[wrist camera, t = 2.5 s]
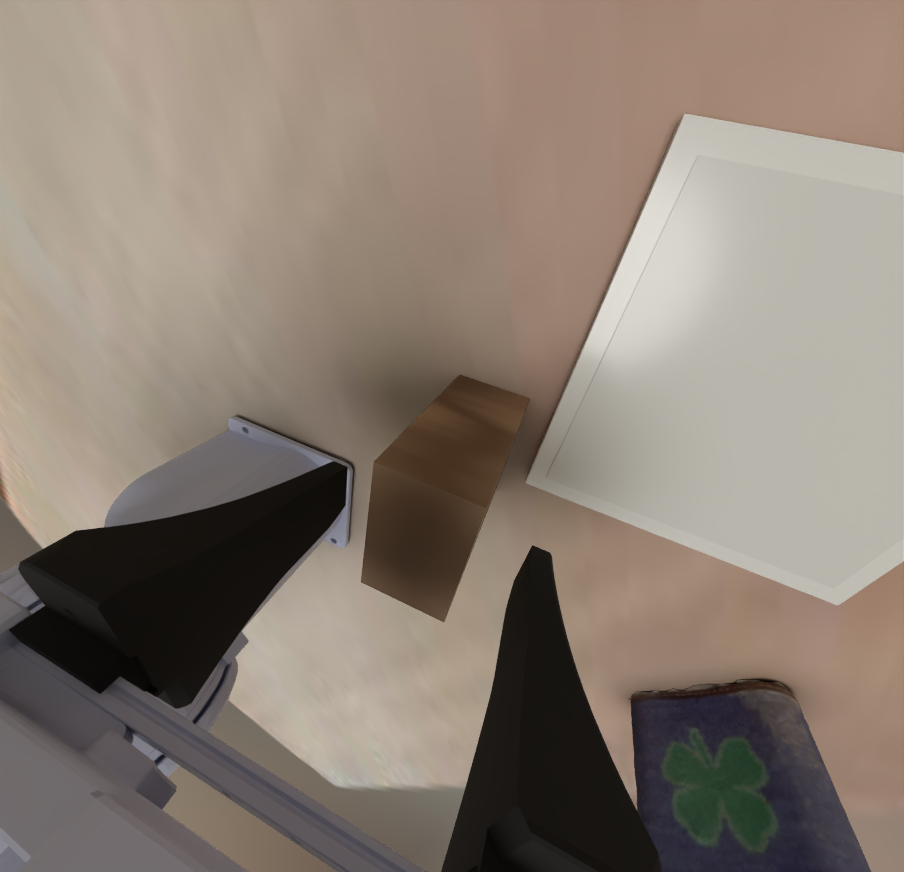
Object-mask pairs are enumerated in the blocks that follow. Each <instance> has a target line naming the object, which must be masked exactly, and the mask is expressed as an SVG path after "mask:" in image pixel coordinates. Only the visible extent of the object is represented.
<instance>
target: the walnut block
mask: <svg viewBox="0 0 904 872" xmlns="http://www.w3.org/2000/svg"><path fill="white" fill-rule="evenodd" d="M529 400H530V399H529V398H526V397H523V396H520V395H518V394H515V393H512V392H509V391H506V390H503V389H500V388H497V387H494V386H491V385H489V384H486V383H483V382H480V381H477V380H474V379H471V378H468V377H465V376H463V375H459V376H458V377H457V378H456V379H455V380H454V381H453V382H452V383H451V384H450V385H449V386H448V387H447V388H446V389H445V390H444V391H443V392H442V393H441V394H440V395H439V396H438V397H437V398H436V399H435V400H434V401H433V402H432V404H431V405H430V406H429V407H428V408H427V409H426V410H425V411H424V412H423V413H422V414H421V415H420V416H419V417H418V418H417V419H416V420H415V421H414V422H413V423H412V424H411V425H410V426H409V427H408V428H407V429H406V430H405V431H404V432H403V433H402V434H401V435H400V436H399V437H398V438H397V439H396V440H395V441H394V442H393V443H392V444H391V445H390V446H389V447H388V448H387V449H386V450H385V451H384V452H383V453H382V454H381V455H380V456H379V457H378V458H377V459H376V460H375V461H374V466H373V475H372V484H371V493H370V503H369V512H368V521H367V531H366V540H365V549H364V558H363V568H362V577H361V582H362V583H364V584H366V585H368V586H370V587H372V588H374V589H376V590H378V591H380V592H382V593H385V594H387V595H389V596H391V597H393V598H395V599H397V600H399V601H401V602H403V603H405V604H407V605H409V606H411V607H413V608H415V609H417V610H420V611H422V612H424V613H426V614H428V615H430V616H432V617H434V618H436V619H438V620H440V621H442V622H444V621H445V619H446V616H447V613H448V611H449V608H450V606H451V603H452V601H453V598H454V596H455V593H456V591H457V588H458V585H459V583H460V580H461V577H462V575H463V572H464V570H465V567H466V565H467V562H468V560H469V557H470V554H471V552H472V549H473V547H474V544H475V542H476V539H477V536H478V534H479V531H480V529H481V526H482V524H483V521H484V518H485V516H486V513H487V511H488V508H489V506H490V503H491V500H492V498H493V495H494V493H495V490H496V487H497V485H498V482H499V479H500V477H501V474H502V471H503V469H504V466H505V463H506V461H507V458H508V455H509V453H510V450H511V447H512V445H513V442H514V439H515V437H516V434H517V431H518V429H519V426H520V423H521V421H522V418H523V416H524V413H525V410H526V408H527V405H528V402H529Z"/></svg>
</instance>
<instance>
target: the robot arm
mask: <svg viewBox="0 0 904 872" xmlns="http://www.w3.org/2000/svg"><path fill="white" fill-rule="evenodd" d="M228 426H229V430H228V431H226V432H224V433H222V434H220V435H219V436H217V437H215V438H213V439H211V440H209V441H207V442H205V443H203V444H201V445H199V446H198V447H196V448H194V449H192V450H190V451H188V452H186V453H184V454H182V455H180V456H178V457H176V458H175V459H173V460H171V461H169V462H167V463H165V464H163V465H161V466H159V467H157V468H155V469H153V470H152V471H150V472H148V473H146V474H144V475H143V476H141V477H140V478H138V479H137V480H136V481H134V482H133V483H132V484H130V485H129V486H128V487H127V488H126V489H125V490H124V491H123V492H122V493H121V494H120V495H119V497H118V498H117V499H116V500H115V502H114V503H113V504H112V506H111V508H110V509H109V511H108V514H107V516H106V520H105V526H104V528H96V529H87V530H79V531H75V532H73V533H71V534H69V535H67V536H66V537H64V538H62V539H60V540H59V541H57V542H55V543H53V544H51V545H50V546H48V547H46V548H44V549H43V550H41V551H39V552H37V553H35V554H34V555H32V556H30V557H29V558H27V559H25V560H23V561H21V562H20V563H19V564H17V565H16V566H14V567H12V568H10V569H8V570H7V571H5V572H3V573H1V574H0V872H249V871H248V870H246V869H245V868H243V867H242V866H241V865H239V864H238V863H237V862H235V861H234V860H232V859H231V858H230V857H228V856H227V855H225V854H224V853H223V852H221V851H220V850H218V849H217V848H216V847H214V846H213V845H211V844H210V843H209V842H207V841H206V840H204V839H203V838H202V837H200V836H199V835H197V834H196V833H194V832H193V831H192V830H190V829H189V828H187V827H186V826H185V825H183V824H182V823H180V822H179V821H178V820H176V819H175V818H173V817H172V816H170V815H169V814H168V813H166V812H165V811H163V810H162V809H163V808H164V806H165V805H166V804H167V802H168V801H169V800H170V798H171V797H172V796H173V795H174V793H175V792H176V787H177V786H176V785H175V784H174V783H173V782H172V781H170V780H169V779H168V778H167V777H168V776H169V775H170V774H171V773H173V772H174V771H175V770H176V769H177V768H178V767H179V766H181V767H183V768H184V769H186V770H187V771H189V772H190V773H192V774H193V775H195V776H196V777H198V778H199V779H201V780H202V781H204V782H205V783H207V784H208V785H210V786H211V787H213V788H214V789H215V790H217V791H218V792H220V793H221V794H223V795H225V796H226V797H227V798H229V799H230V800H232V801H233V802H235V803H237V804H238V805H239V806H241V807H242V808H244V809H245V810H247V811H248V812H250V813H251V814H253V815H254V816H256V817H257V818H259V819H260V820H262V821H263V822H265V823H266V824H268V825H269V826H271V827H272V828H274V829H275V830H277V831H278V832H280V833H281V834H283V835H284V836H286V837H287V838H289V839H290V840H291V841H293V842H294V843H296V844H298V845H299V846H301V847H302V848H303V849H305V850H306V851H308V852H309V853H311V854H312V855H314V856H315V857H317V858H318V859H320V860H321V861H323V862H324V863H326V864H327V865H329V866H330V867H332V868H333V869H335V870H336V871H338V872H427V871H425V870H423V869H422V868H420V867H419V866H417V865H416V864H414V863H413V862H411V861H409V860H408V859H406V858H405V857H403V856H402V855H400V854H398V853H397V852H395V851H394V850H392V849H391V848H389V847H387V846H386V845H384V844H383V843H381V842H379V841H378V840H376V839H375V838H373V837H372V836H370V835H368V834H367V833H365V832H364V831H362V830H361V829H359V828H358V827H356V826H354V825H353V824H351V823H350V822H348V821H347V820H345V819H343V818H342V817H340V816H339V815H337V814H336V813H334V812H332V811H331V810H329V809H328V808H326V807H325V806H323V805H321V804H320V803H318V802H317V801H315V800H314V799H312V798H310V797H309V796H307V795H306V794H304V793H303V792H301V791H299V790H298V789H296V788H295V787H293V786H291V785H290V784H288V783H287V782H285V781H284V780H282V779H281V778H279V777H277V776H276V775H274V774H273V773H271V772H270V771H268V770H267V769H265V768H263V767H261V766H260V765H259V764H257V763H256V762H254V761H252V760H251V759H249V758H248V757H246V756H245V755H242V754H241V753H240V752H238V751H237V750H235V749H234V748H232V747H230V746H229V745H227V744H226V743H224V742H223V741H221V740H219V739H218V738H216V737H215V736H213V735H212V734H210V733H209V731H210V730H211V728H212V727H213V726H214V724H215V723H216V721H217V719H218V718H219V716H220V715H221V713H222V711H223V709H224V707H225V705H226V703H227V701H228V699H229V696H230V694H231V691H232V688H233V686H234V683H235V680H236V676H237V672H238V663H237V660H236V658H235V657H236V656H237V655H238V653H239V652H240V651H241V650H242V649H243V648H244V646H245V645H246V644H247V643H248V639H247V638H246V637H245V635H244V634H243V633H242V630H243V629H244V628H245V626H246V625H247V624H248V623H249V622H250V621H251V620H252V619H253V617H254V616H255V615H256V614H257V613H258V612H259V611H260V610H261V609H262V607H263V606H264V605H265V604H266V603H267V602H268V601H269V600H270V599H271V597H272V596H273V595H274V594H275V593H276V592H277V591H278V590H279V589H280V587H281V586H282V585H283V584H284V583H285V582H286V581H287V580H288V579H289V577H290V576H291V575H292V574H293V573H294V572H295V571H296V570H297V569H298V567H299V566H300V565H301V564H302V563H303V562H304V561H305V560H306V559H307V557H308V556H309V555H310V554H311V553H312V552H313V551H314V550H315V549H316V547H317V546H318V545H319V544H320V543H321V542H322V541H323V540H324V541H326V542H328V543H331V544H333V545H335V546H337V547H339V548H345V547H346V546H347V545H348V537H349V522H350V507H351V492H352V476H353V470H352V467H351V466H350V465H349V464H348V463H346V462H343V461H341V460H338V459H336V458H334V457H331V456H329V455H327V454H324V453H322V452H319V451H317V450H315V449H312V448H310V447H307V446H305V445H303V444H300V443H298V442H296V441H293V440H291V439H288V438H286V437H284V436H281V435H279V434H277V433H274V432H272V431H269V430H267V429H265V428H262V427H260V426H257V425H255V424H253V423H250V422H248V421H246V420H243V419H241V418H238V417H235V416H234V417H231V418H229V419H228ZM441 872H662V869H661V864H660V859H659V854H658V851H657V849H656V847H655V845H654V843H653V841H652V839H651V837H650V836H649V834H648V832H647V830H646V828H645V826H644V824H643V822H642V820H641V818H640V816H639V814H638V812H637V810H636V808H635V806H634V804H633V802H632V800H631V798H630V796H629V794H628V792H627V790H626V788H625V786H624V784H623V781H622V779H621V777H620V775H619V773H618V771H617V769H616V767H615V764H614V762H613V760H612V758H611V756H610V753H609V751H608V749H607V746H606V744H605V741H604V739H603V737H602V734H601V732H600V730H599V727H598V725H597V723H596V720H595V718H594V716H593V713H592V711H591V708H590V705H589V703H588V700H587V697H586V695H585V692H584V689H583V686H582V683H581V681H580V678H579V675H578V672H577V669H576V666H575V663H574V659H573V656H572V653H571V649H570V646H569V642H568V639H567V635H566V631H565V627H564V623H563V619H562V614H561V610H560V605H559V601H558V596H557V590H556V585H555V579H554V572H553V563H552V556H551V554H550V553H549V552H547V551H545V550H542V549H540V548H538V547H535V546H533V545H532V547H531V549H530V551H529V553H528V555H527V557H526V559H525V561H524V563H523V565H522V567H521V568H520V570H519V572H518V574H517V576H516V578H515V580H514V583H513V586H512V590H511V593H510V597H509V600H508V604H507V608H506V612H505V618H504V623H503V629H502V635H501V641H500V647H499V653H498V659H497V665H496V670H495V676H494V681H493V686H492V691H491V695H490V699H489V703H488V707H487V711H486V714H485V718H484V722H483V726H482V730H481V733H480V737H479V741H478V744H477V748H476V752H475V756H474V759H473V763H472V767H471V770H470V774H469V777H468V781H467V784H466V788H465V792H464V795H463V799H462V802H461V806H460V809H459V813H458V816H457V819H456V823H455V827H454V830H453V833H452V837H451V840H450V844H449V847H448V851H447V854H446V857H445V860H444V864H443V867H442V871H441Z"/></svg>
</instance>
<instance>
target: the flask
mask: <svg viewBox="0 0 904 872" xmlns="http://www.w3.org/2000/svg"><path fill="white" fill-rule="evenodd" d="M736 682H737V684H736V685H735V684H722V685H720V684H717V685H713V684H707V685H702V684H700V685H698V686H692V687H690V688H688V689H686V690H685V691H677V690H676V689H674V688H673V689H671V690H669V691H668V692H659V691H656V690H654V691H652V692H649V693H647V692H635V693H634V694H633V695H632V696H631V698H629V699H630V700H631V716H632V730H633V746H634V767H635V777H636V786H637V807H638V808H637V812H638V814H639V816H640V818H641V820H642V822H643V824H644V826H645V828H646V830H647V832H648V834H649V836H650V837H651V839H652V841H653V843H654V845H655V847H656V849H657V851H658V854H659V859H660V864H661V869H662V872H871V870H870V868H869V866H868V863H867V861H866V859H865V856H864V854H863V852H862V849H861V847H860V845H859V842H858V840H857V838H856V836H855V834H854V831H853V829H852V827H851V825H850V823H849V821H848V818H847V815H846V813H845V810H844V808H843V806H842V804H841V802H840V800H839V797H838V795H837V792H836V790H835V788H834V785H833V783H832V780H831V778H830V776H829V774H828V771H827V769H826V767H825V764H824V762H823V760H822V757H821V755H820V753H819V750H818V748H817V746H816V743H815V741H814V739H813V736H812V734H811V732H810V730H809V726H808V724H807V722H806V720H805V719H804V716H803V713H802V710H801V707H800V705H799V703H798V701H797V700H796V698H795V697H794V695H793V694H792V692H791V691H790V690H788V689H787V688H786V687H784V686H783V685H782V684H781V683H780V682H774V683H768V682H763V681H759V680H737V681H736Z"/></svg>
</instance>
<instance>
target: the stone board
mask: <svg viewBox="0 0 904 872" xmlns="http://www.w3.org/2000/svg"><path fill="white" fill-rule="evenodd" d="M525 483H526V484H528V485H531V486H533V487H536V488H539V489H541V490H544V491H546V492H549V493H551V494H554V495H556V496H559V497H562V498H564V499H567V500H569V501H572V502H574V503H577V504H579V505H582V506H585V507H587V508H590V509H592V510H595V511H597V512H600V513H603V514H605V515H608V516H610V517H613V518H615V519H618V520H620V521H623V522H626V523H628V524H631V525H633V526H636V527H638V528H641V529H643V530H646V531H649V532H651V533H654V534H656V535H659V536H661V537H664V538H666V539H669V540H672V541H674V542H677V543H679V544H682V545H684V546H687V547H690V548H692V549H695V550H697V551H700V552H702V553H705V554H707V555H710V556H713V557H715V558H718V559H720V560H723V561H725V562H728V563H730V564H733V565H736V566H738V567H741V568H743V569H746V570H748V571H751V572H753V573H756V574H759V575H761V576H764V577H766V578H769V579H771V580H774V581H777V582H779V583H782V584H784V585H787V586H789V587H792V588H794V589H797V590H800V591H802V592H805V593H807V594H810V595H812V596H815V597H817V598H820V599H823V600H825V601H828V602H830V603H833V604H835V605H839V604H841V603H842V602H844V601H845V600H847V599H848V598H850V597H851V596H853V595H854V594H856V593H857V592H859V591H860V590H862V589H863V588H864V587H866V586H867V585H869V584H870V583H872V582H873V581H875V580H876V579H878V578H879V577H881V576H882V575H884V574H885V573H887V572H888V571H890V570H891V569H893V568H894V567H896V566H897V565H898V564H900V563H901V562H903V561H904V153H902V152H896V151H891V150H885V149H880V148H874V147H868V146H863V145H857V144H852V143H846V142H840V141H835V140H829V139H824V138H818V137H812V136H807V135H801V134H796V133H790V132H785V131H779V130H773V129H768V128H762V127H757V126H751V125H745V124H740V123H734V122H729V121H723V120H717V119H712V118H706V117H701V116H695V115H689V114H684V115H683V117H682V118H681V119H680V121H679V123H678V125H677V127H676V130H675V132H674V134H673V137H672V139H671V141H670V144H669V146H668V148H667V151H666V153H665V155H664V158H663V160H662V162H661V165H660V167H659V169H658V172H657V174H656V176H655V179H654V181H653V183H652V186H651V188H650V190H649V193H648V195H647V197H646V200H645V202H644V204H643V207H642V209H641V211H640V214H639V216H638V218H637V221H636V223H635V225H634V227H633V230H632V232H631V234H630V237H629V239H628V241H627V244H626V246H625V248H624V251H623V253H622V255H621V258H620V260H619V262H618V265H617V267H616V269H615V272H614V274H613V276H612V279H611V281H610V283H609V286H608V288H607V290H606V293H605V295H604V297H603V300H602V302H601V304H600V307H599V309H598V311H597V314H596V316H595V318H594V321H593V323H592V325H591V328H590V330H589V332H588V335H587V337H586V339H585V342H584V344H583V346H582V349H581V351H580V353H579V356H578V358H577V360H576V363H575V365H574V367H573V370H572V372H571V374H570V377H569V379H568V381H567V384H566V386H565V388H564V391H563V393H562V395H561V398H560V400H559V402H558V405H557V407H556V409H555V412H554V414H553V416H552V419H551V421H550V423H549V426H548V428H547V430H546V433H545V435H544V437H543V440H542V442H541V444H540V446H539V449H538V451H537V453H536V456H535V458H534V460H533V463H532V465H531V467H530V470H529V472H528V475H527V478H526V482H525Z"/></svg>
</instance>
